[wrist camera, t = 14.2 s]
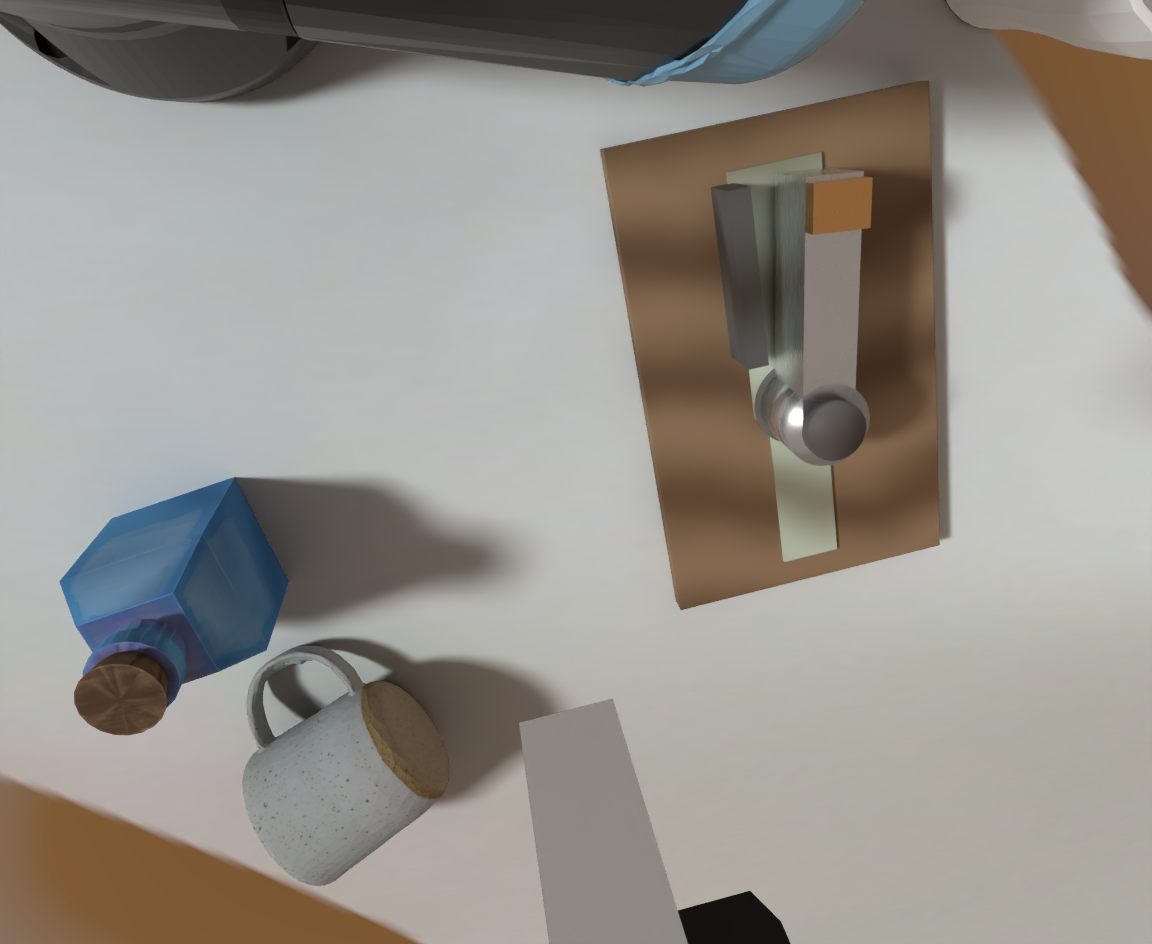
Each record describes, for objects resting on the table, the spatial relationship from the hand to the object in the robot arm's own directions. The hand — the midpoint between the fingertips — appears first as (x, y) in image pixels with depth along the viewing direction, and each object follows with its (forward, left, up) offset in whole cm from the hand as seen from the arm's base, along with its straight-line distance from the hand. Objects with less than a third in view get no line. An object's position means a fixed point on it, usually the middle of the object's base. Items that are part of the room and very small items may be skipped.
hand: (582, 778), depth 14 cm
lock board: (+5, +15, -29) cm, 33 cm away
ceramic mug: (+19, -13, -30) cm, 37 cm away
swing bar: (+2, +15, -28) cm, 32 cm away
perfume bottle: (+7, -16, -30) cm, 34 cm away
